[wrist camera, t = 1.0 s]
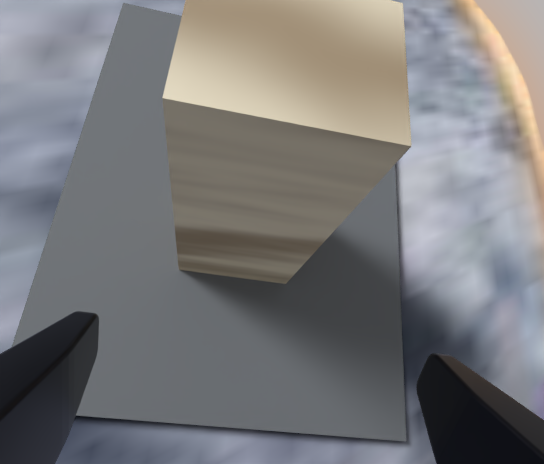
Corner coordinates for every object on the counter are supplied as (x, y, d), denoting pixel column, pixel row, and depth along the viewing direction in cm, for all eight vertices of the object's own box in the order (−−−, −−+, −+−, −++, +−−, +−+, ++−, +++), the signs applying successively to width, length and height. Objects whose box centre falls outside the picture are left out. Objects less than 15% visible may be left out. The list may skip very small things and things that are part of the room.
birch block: (285, 284, 23) (411, 146, 10) (178, 269, 22) (162, 98, 9) (291, 205, 24) (402, 3, 12) (193, 189, 24) (197, -48, 11)
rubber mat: (400, 440, 21) (406, 441, 21) (-3, 408, 18) (-9, 408, 18) (387, 68, 31) (391, 62, 31) (124, 10, 28) (123, 2, 28)
